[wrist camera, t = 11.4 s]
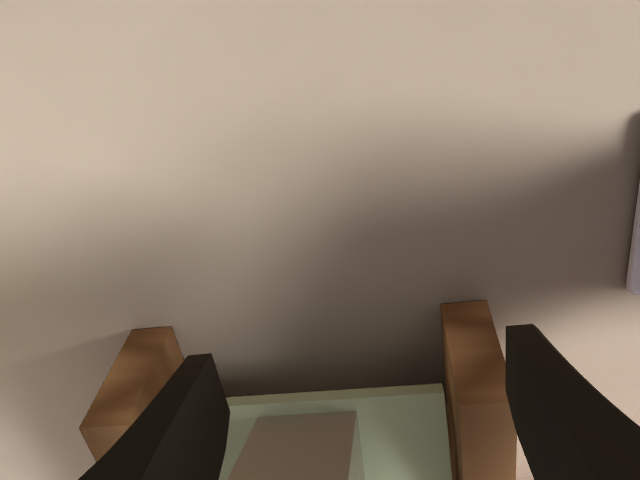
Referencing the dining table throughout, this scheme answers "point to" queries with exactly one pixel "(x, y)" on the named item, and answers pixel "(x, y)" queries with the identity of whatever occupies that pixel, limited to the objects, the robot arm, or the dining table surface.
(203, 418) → the robot arm
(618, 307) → the dining table surface
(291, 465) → the granite block
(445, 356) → the frame
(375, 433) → the trapdoor
